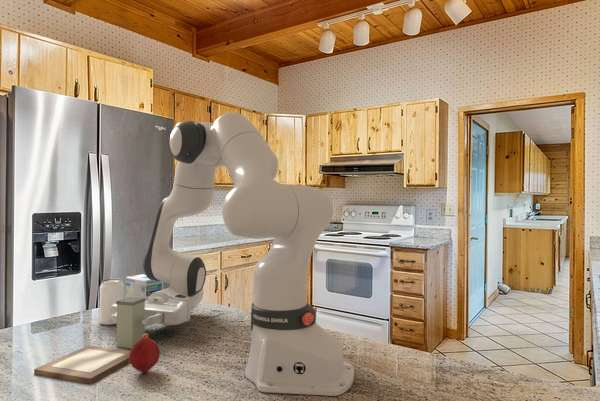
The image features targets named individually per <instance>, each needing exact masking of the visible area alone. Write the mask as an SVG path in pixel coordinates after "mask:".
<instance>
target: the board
mask: <svg viewBox="0 0 600 401" xmlns="http://www.w3.org/2000/svg"><path fill="white" fill-rule="evenodd" d="M130 351H131V350H125V349H118V348H111V347H103V346H96V345H89V344H88V345H86V346H83V347H82V348H79V349H76V350H75V351H72V352H70V353H68V354H66V355H63V356H61V357H58V358H57V359H54V360H52V361H50V362H48V363H45V364H42V365H40V366H39V367H35V368H34V369H33V371H34V372H33V374H34V375H38V376H42V375H43V376H44V377H48V376H49V377H50V378H54V379H55V378H56V379H60V380H61V379H62V380H67V381H72V382H78V383H84V384H93V383H94V382H96V381H97V380H99V379H101V378H103V377H105V376H107V375H108V374H110V373H112V372H114V371H116V370H117V369H120V368H121V367H123V366H125V365H126V364H128V363H130V360H129V354H130Z"/></svg>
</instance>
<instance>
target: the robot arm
mask: <svg viewBox="0 0 600 401" xmlns="http://www.w3.org/2000/svg"><path fill="white" fill-rule="evenodd" d="M169 150H170V153H171V156H173V158H174V160H176V161H177V162H176V166H175V172H174V179H173V186H172V189H171V192H170V194H169V196H167V197H165V198H163V200H162V201H161V203H160V205H159V208H158V212H157V215H156V218H155V221H154V222H155V223H154V226H153V230H152V234H151V238H150V242H149V246H148V249H147V251H146V253H145V256H144V258H143V261H142V268H143V272H144V275H146V276H147V277H148V278H149V279H151V280H156V281H162V282H163V283H166V284H169V286H168V287H166V288H163V290H160V291H157V292H154V293H153V294H151V295H150V296H149V298H148V299H147V301H145V318H143V319H142V325H144V326H146V327H148V326H151V325H155V324H157V325H158V324H159V325H165V326H166V325H168V326H179V325H182V324H184V323H187V322H189V321H190V320H191V317H192V316H191V313H192V310H194V309H195V308H197V306H199V305H200V303H201V302H202V300H203V298H204V285H205V283H206V277H207V269H206V266H205V262H204V261H203V259H202V258H201V257H200V256H199V257H198V256H197V255H196V256H195V255H193V254H189V253H184V252H182V251H181V252H180V251H177V250H175V249H172V248H171V246H170V243H171V242H170V241H171V238H172V234H173V232H174V231H173V230H174V226H175V223H176V222H177V220H178V219H180V218H187V217H191V216H192V217H193V216H195V215H198V214H201V213H203V212H204V211H206V210H207V209H208V208H209V207H210V206H211V205H212V203H213V202H212V201H213V199H214V198H213V197H214V191H215V184H216V183H215V180H216V179H215V178H216V171H217V169H218V168H219V167H225V168H226V170H227V172H228V174H229V175H230V178H231V180H232V183H233V187H232V188H231V189H229V192H228V193H227V194H226V196H225V198H224V200H223V204H222V209H221V211H222V212H221V213H222V220H223V223H224V225H225V226H226V228H227V230H228V231H229V232H230V233H231V234H232V235H233V236H236V237H241V238H246V239H247V238H248V239H254V240H260V239H261V240H262V239H273V240H272V244H271V246H270V248H269V250H268V251H267V253H266V254H265V255H263V257H262V258H260V259H259V260H258V261H257V263H256V264H255V266H254V269H253V302H252V303H251V307H250V309H251V311H250V329H251V340H250V341H251V342H250V348H249V355H248V359H247V362H246V366H245V369H244V375H245V377H246V378H247V379H248V380H249V381H250V382H252V383H253V384H254V385H255V386H256V388H257V390H258V391H259V392H262V393H273V394H294V395H295V394H297V395H309V396H310V395H311V396H330V397H331V396H332V397H334V396H335V397H337V396H340V395H342V394H344V393H346V392H347V391H349V389H350V388H351V387H352V385H353V383H354V380H355V369H354V367H353V365H352V364H351V363H350V362H347V361H345V360H344V356H343V355H344V354H343V350H342V346H341V344H340V342H339V340H337V338H335V337H334V336H332V335H331V334H330V333H329V332H327V331H326V330H325V329H324V328H323V327H322V326H321V325H320V324H318V323H317V313H318V312H317V310H318V307H317V306H315V307H313V306H312V305H310V304H309V303H308V300H307V298H308V296H307V295H308V277H309V275H308V273H309V272H308V271H309V264H310V260H311V257H312V254H313V252H314V251H313V250H314V248H315V246H316V243H317V241H318V239H319V238H320V236H321V234H322V233H323V232H324V231H325V230H326V229H327V227H329V226H330V224H331V222H332V220H333V215H334V207H333V202H332V199H331V197H330V196H329V194H328V193H327V192H326V191H324V190H323V189H320V188H316V187H314V186H311V185H310V186H309V185H305V184H304V185H303V184H283V183H280V182H278V181H277V180H275V178H276V177H277V174H278V171H279V160H278V156H277V155H276V154H275V152H274V150H273V149H272V148H271V146H270V145H269V144H268V142H267V140H266V139H265V137H264V136H263V135H262V134H261V132H260V131H259V129H258V128H257V127H256V126H255V125H254V124H253V123H252V122H251V121H250V120H249V119H248V118H247V117H246V116H245V115H244V114H243V113H239V112H237V111H236V112H235V111H233V112H232V111H230V112H226V113H223V114H222V115H220V116H219V117H218V118H216V120H215V121H214V122H208V121H207V122H206V121H203V122H202V121H200V122H199V121H193V120H188V121H180V122H177V123H176V124H175V126H173V127H172V129H171V131H170V134H169ZM111 322H117V304H116V303H115V304H113V305H112V306H111Z"/></svg>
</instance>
